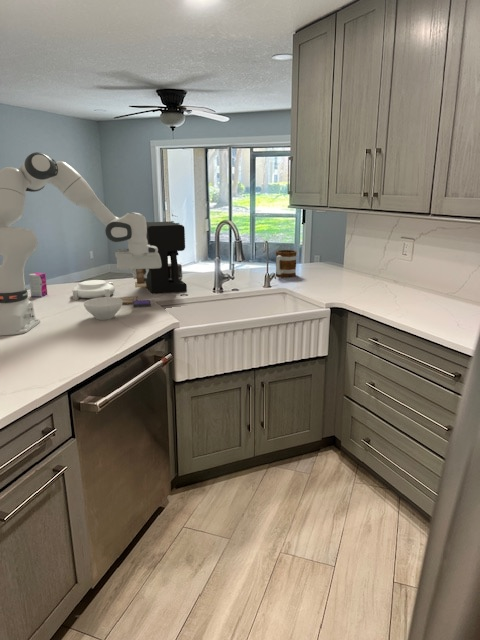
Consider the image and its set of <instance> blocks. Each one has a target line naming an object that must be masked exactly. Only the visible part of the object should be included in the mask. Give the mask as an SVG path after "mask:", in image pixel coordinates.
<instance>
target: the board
mask: <svg viewBox="0 0 480 640" xmlns="http://www.w3.org/2000/svg"><path fill="white" fill-rule="evenodd" d="M138 297H139V296H122V297H121V296H120V297H119V296H118V297H117V296H116V298H120V299H122V300H123V302H122V306H126V305H127V306H129V305H133V301H135V300H139V298H138Z"/></svg>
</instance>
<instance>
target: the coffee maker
mask: <svg viewBox="0 0 480 640" xmlns="http://www.w3.org/2000/svg"><path fill="white" fill-rule="evenodd" d="M146 224H147V240H148V244H149V245H152V246H156V247H157V248H158V253H159V255H160V258H161V264H162V267H161V268H154V269H149V272H148V274H147V278H144V282H146V287H145V288H146V290H148V292H149V293H150V294H152V295H160V294H172V293H182V292H187V291H188V287H187V285H188V284H187V283H185V282H184V281H183V267H182V263H178V257H177V256H179V252H183V251H185V249H186V236H185V235H186V233H185V232H186V231H185V226H184V225H183V224H181V223H180V222H177V223H176V222H175V221H172V220H171V221H146ZM169 257H170V263H169ZM143 273H144V274H145V273H146V269H144V272H143Z"/></svg>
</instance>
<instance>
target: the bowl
mask: <svg viewBox="0 0 480 640" xmlns="http://www.w3.org/2000/svg"><path fill="white" fill-rule="evenodd" d="M122 302H123V300H122V299H120V298H117V297H114V296H110V297H99V298H89V299H87V300H85V301H84V302H83V307H84V308H85V310H86V311H87V312H88V313H89V314H90V315H92V316H93V317H94V318H95V319H96V320H99V321H106V320H110V319H113V318H114V317H115V316H116V314H117V313H118V312H119V311H120V309H122V306H123V305H122Z"/></svg>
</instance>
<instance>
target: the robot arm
mask: <svg viewBox="0 0 480 640" xmlns="http://www.w3.org/2000/svg"><path fill="white" fill-rule="evenodd" d="M47 184H49V185H52V186H54V187H56V188H57V189H58V190H59V191H60V193H62V194H63V196H65V198H66V199H68V200H69V201H70V202H72V203H73V204H74V205H76V206H79V207H81V208H84V209H85V210H87V211H90V212H91V213H92V214H93V215H94V216H95V217H96V218H97V219H98V220H99V221H101V223H102V224H103V225H104V226H105V232H104V233H105V236H106V238H107V239H108V240H109V241H111V242H113V243H120V242H121V243H122V242H124V241H127V248H124V249H121V248H120V249H118V250H116V251H115V253H114V256H115V259H116V268H117V270H119V271H124V270H125V271H127V270H129V271H130V273H131V274H132V276H133V280H137V274H135V272H134V270H136V269H146V273H145V274H144V278H147V274H148V272H149V269H154V268H161V267H162V264H161V258H160V255H159V253H158V248H157V247H156V246H152V245H149V244H148V240H147V224H146V222H147V220H146V217H145V215H144V214H142V213H139V212H135V211H133V212H132V211H130V212H127V213H126V214H124V215H123V216H121V217H119V216H117V215H115V213H113V212H112V211H111V210H110V209H109V208H108V207H107V206H106V205H105V204H104V203H103V202H102V201H101V200H100V199H99V198H98V196H97V194H95V191H94V189H92V187H91V185H90V184H89V183H88V182H87V181H86V179H85V178H84V177H83V176H82V175H81V174H80V173H79V172H78V171H77V170H75V168H73V166H71V165H70V164H68V163H67V162H65V161H62V160H58V161H56V160H55V159H53V158H51V157H49V156H48V155H46V154H45V153H42V152H37V151H36V152H32V153H30V154H29V155H28V156H26V158H25V160H24V161H23V163H22V165H21V166H20V167H19V168H16V167H14V166H13V167H12V166H7V167H3V168H1V169H0V256H2V262H1V264H0V337H1V336H14V335H20V334H26V333H27V332H29V331H30V330H32V329H33V328H35V326H37V325H39V323H41V320H40V319H39V318H37V317H36V313H35V308H34V303H33V302H32V301H31V300H30V299H29V293H28V289H27V287H26V283H25V266H26V262H27V261H28V260H29V257H30V256H31V255H32V254H34V252H35V251H36V250H37V247H38V238H37V236H36V233H34V231H33V230H32V229H29V228H26V227H19V226H12V225H13V224H14V223H16V222H17V221H19V220H20V219H22V217H23V216H24V215H23V214H24V209H25V202H26V192H33V193H35V192H39V191H41V190H43V189H44V188H45V186H46V185H47Z"/></svg>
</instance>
